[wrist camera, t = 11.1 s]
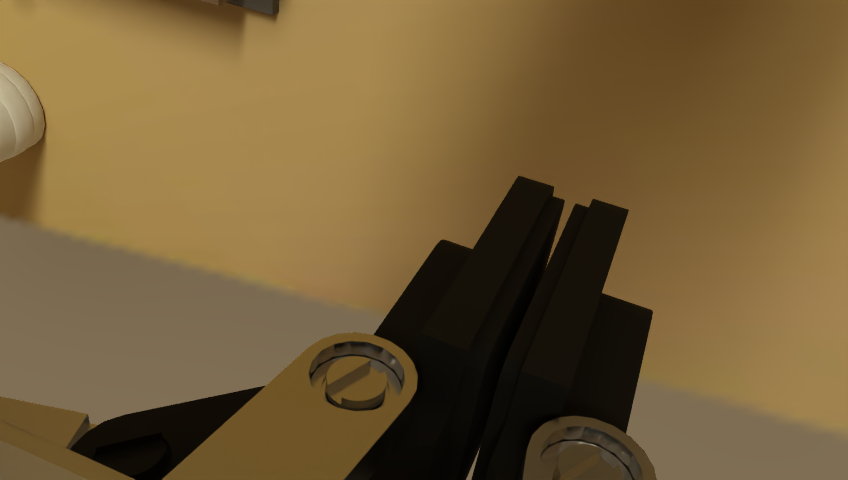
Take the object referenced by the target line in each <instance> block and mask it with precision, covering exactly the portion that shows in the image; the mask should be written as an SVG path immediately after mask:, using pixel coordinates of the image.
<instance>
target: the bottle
mask: <svg viewBox="0 0 848 480" xmlns="http://www.w3.org/2000/svg"><path fill="white" fill-rule="evenodd" d="M44 127H45V122H44V114H43V109H42V107H41V104H40V102H39V99H38V97H37V95H36V94H35V92H34V91H33V89H32V88H31V86H30V85H29V83H28V82H27V81H26V80H25V79H24V78H23V77H22V76H21V75H20V74H18V73H17V72H16V71H15V70H14V69H12V68H10V67H8V66H6V65H5V64H3V63H1V62H0V162H2V161H4V160H6V159H10V158H12V157H14V156H16V155H18V154H20V153H22V152H24V151H25V150H26V149H27V148H29V147H31V146H33V145H35V144H36V143H37V142H38V141H39V140H40V139H41V138H42V136H43V132H44Z"/></svg>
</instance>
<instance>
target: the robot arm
mask: <svg viewBox="0 0 848 480" xmlns="http://www.w3.org/2000/svg"><path fill="white" fill-rule="evenodd" d="M553 192H554V186H550V185H547V184H544V183H541V182H538V181H534V180H531V179H528V178H525V177H521V176H518V178H517V179H516V180H515V182H514V184H513V185H512V187H511V189H510V190H509V192H508V193H507V195H506V197H505V198H504V200H503V201H502V203H501V205H500V206H499V208H498V209H497V211H496V213H495V214H494V216H493V218H492V219H491V221H490V222H489V224H488V226H487V227H486V229H485V230H484V232H483V234H482V235H481V237H480V239H479V240H478V242H477V243H476V245H475V247H474V248H473V249H470V248H467V247H464V246H461V245H458V244H456V243H453V242H450V241H447V240H440V242H439V243H438V244H437V245H436V246H435V248H434V249H433V251H432V252H431V253H430V255H429V256H428V258H427V259H426V261H425V262H424V263H423V265H422V266H421V268H420V269H419V271H418V272H417V273H416V275H415V276H414V278H413V279H412V281H411V282H410V283H409V285H408V286H407V288H406V289H405V291H404V292H403V293H402V295H401V296H400V298H399V299H398V301H397V302H396V303H395V305H394V306H393V308H392V309H391V311H390V312H389V313H388V315H387V316H386V318H385V319H384V321H383V322H382V323H381V325H380V326H379V328H378V329H377V331H376V332H375V333H374V335H370V334H362V333H356V332H355V333H343V334H336V335H333V336H330V337H326V338H323V339H321V340H319V341H318V342H316V343H315V344H313V345H312V346H310V347H309V348H307V349H306V350H305V351H304V352H303V353H302V354H301V355H300V356H299V357H297V358H296V359H295V360H294V361H293V362H292V363H291V364H290V365H289V366H287V367H286V368H285V369H284V370H283V371H282V372H281V373H280V374H278V375H277V376H276V377H275V378H274V379H273V380H272V381H271V382H270V383H269V384H267V385H266V386H262V387H257V388H252V389H248V390H242V391H238V392H233V393H228V394H223V395H218V396H213V397H208V398H204V399H199V400H194V401H189V402H184V403H180V404H175V405H170V406H165V407H160V408H155V409H151V410H146V411H141V412H136V413H131V414H126V415H123V416H120V417H116V418H113V419H110V420H107V421H104V422H103V423H101V424H99V425H95V424H90V423H89V417H88V414H85V413H80V412H75V411H70V410H65V409H60V408H55V407H50V406H45V405H40V404H35V403H30V402H25V401H20V400H15V399H10V398H5V397H0V480H466V478H467V476H468V474H469V471H470V469H471V466H472V464H473V462H474V460H475V457H476V455H477V453H478V450H479V448H480V450H479V454H478V457H477V461H476V465H475V469H474V472H473V476H472V480H657V479H656V475H655V470H654V467H653V465H652V463H651V462H650V460H649V458H648V456H647V455H646V453H645V451H644V450H643V449H642V448H641V447H640V446H639V445H638V444H637V443H636V442H635V441H634V440H633V439H632V438H631V437H630V436H628V435H627V434H626V431H627V426H628V422H629V418H630V413H631V409H632V404H633V400H634V395H635V391H636V387H637V382H638V378H639V373H640V369H641V364H642V360H643V355H644V351H645V346H646V342H647V337H648V333H649V329H650V324H651V320H652V314H653V311H652V310H650V309H647V308H644V307H641V306H638V305H635V304H632V303H629V302H627V301H624V300H621V299H618V298H615V297H612V296H609V295H606V294H603V293H602V290H603V287H604V284H605V281H606V278H607V275H608V272H609V269H610V266H611V263H612V260H613V257H614V254H615V251H616V248H617V244H618V241H619V238H620V235H621V232H622V229H623V226H624V223H625V220H626V217H627V214H628V211H629V210H628V209H624V208H621V207H618V206H615V205H611V204H608V203H605V202H602V201H599V200H595V199H593V200H592V202H591V204H590V206H589V208H588V207H585V206H582V205H579V204H575V206H574V208H573V210H572V212H571V215H570V217H569V219H568V221H567V223H566V226H565V228H564V230H563V232H562V235H561V237H560V239H559V241H558V243H557V246H556V248H555V250H554V252H553V254H552V257H551V259H550V261H549V263H548V265H547V262H548V259H549V256H550V252H551V249H552V245H553V242H554V238H555V235H556V231H557V228H558V224H559V221H560V217H561V214H562V210H563V206H564V202H565V200H563V199H560V198H557V197H553ZM546 266H547V268H546ZM545 269H546V270H545Z"/></svg>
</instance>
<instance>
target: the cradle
mask: <svg viewBox="0 0 848 480" xmlns="http://www.w3.org/2000/svg"><path fill="white" fill-rule="evenodd" d="M201 1H204V2H208V3H211V4H215V5H218V6H219V5H221V4H223V3H225V2H226V3H230V4H233V5H237V6H241V7H244V8H248V9H251V10H255V11H259V12H262V13H266V14H269V15H274V14H276V13H278V12H279V0H201Z"/></svg>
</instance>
